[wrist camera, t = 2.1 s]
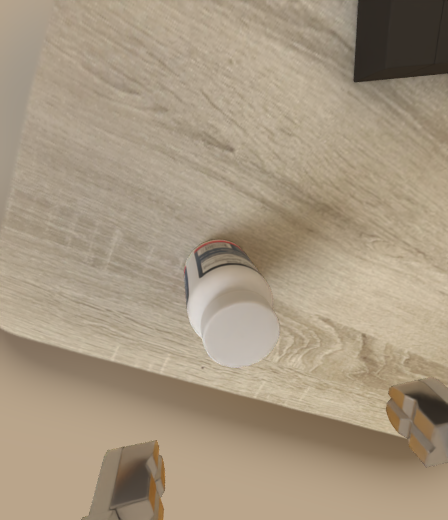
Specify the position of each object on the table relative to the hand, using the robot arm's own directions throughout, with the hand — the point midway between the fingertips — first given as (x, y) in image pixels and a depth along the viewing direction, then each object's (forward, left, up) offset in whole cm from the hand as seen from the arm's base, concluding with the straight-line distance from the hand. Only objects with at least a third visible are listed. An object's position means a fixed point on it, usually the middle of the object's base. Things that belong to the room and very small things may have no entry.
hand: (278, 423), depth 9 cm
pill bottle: (0, 0, -14) cm, 14 cm away
